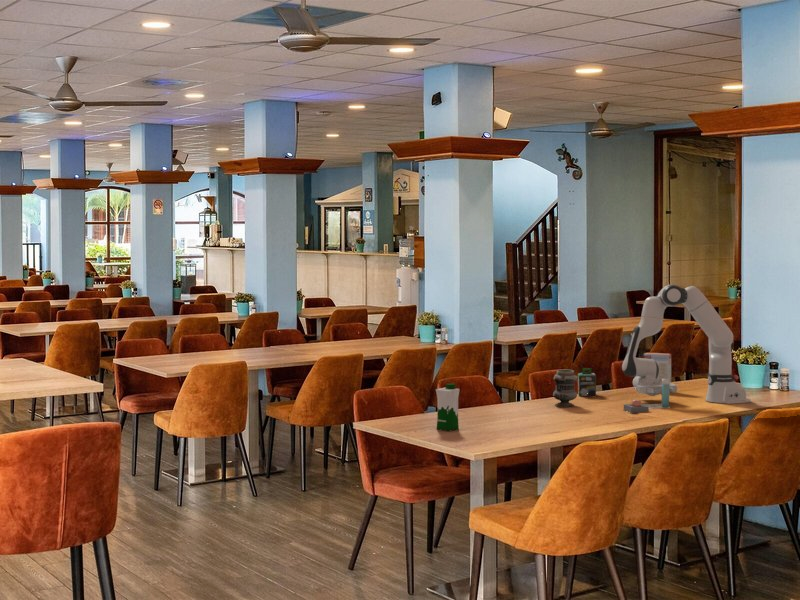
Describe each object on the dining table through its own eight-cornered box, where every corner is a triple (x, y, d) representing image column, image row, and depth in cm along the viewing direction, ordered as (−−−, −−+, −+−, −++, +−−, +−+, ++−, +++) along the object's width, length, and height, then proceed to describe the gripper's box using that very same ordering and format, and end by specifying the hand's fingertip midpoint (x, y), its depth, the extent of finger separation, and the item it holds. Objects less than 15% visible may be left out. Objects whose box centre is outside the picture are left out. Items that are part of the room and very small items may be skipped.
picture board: (661, 404, 512) (661, 403, 512) (673, 409, 499) (673, 407, 499) (627, 405, 509) (627, 404, 509) (639, 410, 496) (639, 409, 495)
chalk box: (594, 394, 547) (594, 366, 546) (596, 396, 538) (596, 369, 537) (577, 393, 548) (577, 366, 547) (578, 396, 539) (578, 368, 538)
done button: (638, 407, 494) (638, 399, 494) (642, 409, 490) (642, 401, 490) (629, 408, 494) (630, 399, 493) (633, 409, 489) (633, 401, 489)
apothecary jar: (563, 408, 501) (564, 372, 500) (547, 405, 511) (548, 369, 510) (582, 406, 508) (582, 370, 507) (565, 403, 518) (566, 368, 517)
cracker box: (671, 391, 556) (671, 353, 554) (668, 392, 551) (668, 354, 549) (646, 389, 563) (646, 352, 562) (642, 390, 558) (643, 353, 557)
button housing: (640, 409, 497) (640, 403, 497) (648, 412, 488) (648, 406, 488) (623, 410, 496) (623, 404, 495) (631, 413, 487) (631, 407, 487)
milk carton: (461, 429, 449) (461, 384, 448) (448, 432, 442) (448, 386, 441) (446, 426, 455) (446, 382, 453) (433, 429, 448) (433, 384, 447)
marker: (667, 406, 503) (667, 378, 502) (670, 407, 500) (670, 379, 499) (660, 406, 503) (660, 378, 502) (663, 407, 499) (663, 379, 498)
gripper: (632, 381, 515) (643, 385, 501) (669, 380, 518) (682, 384, 505) (632, 393, 515) (643, 397, 502) (669, 392, 519) (682, 396, 505)
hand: (663, 390), depth 503 cm, fingers open, 8 cm apart
